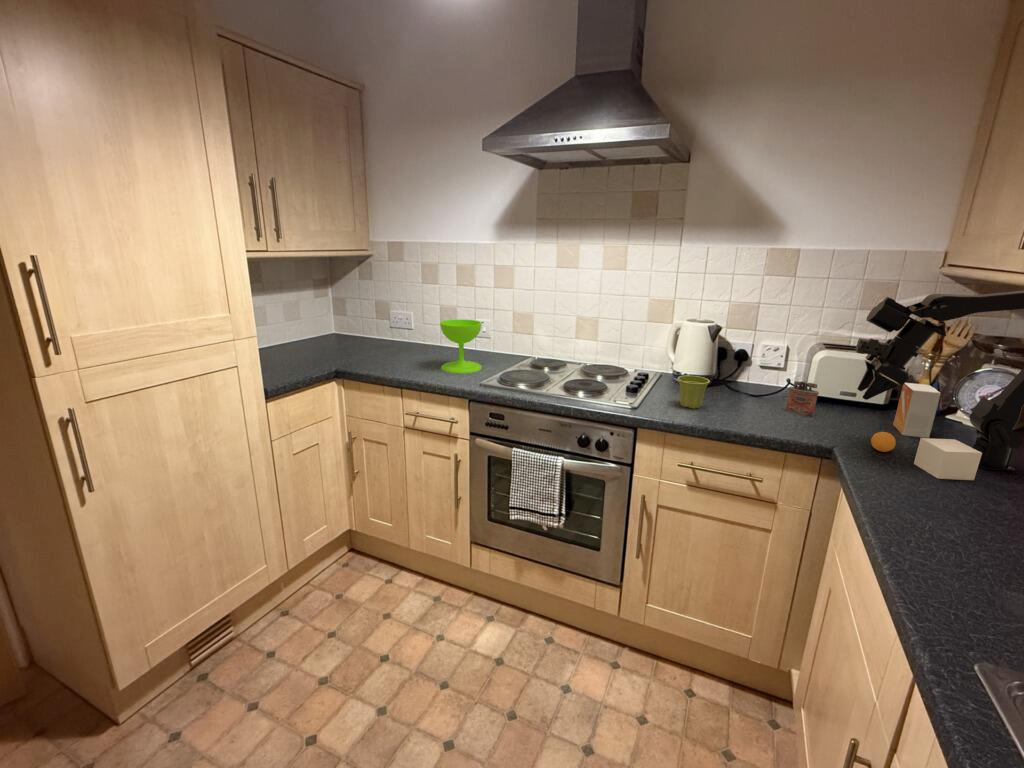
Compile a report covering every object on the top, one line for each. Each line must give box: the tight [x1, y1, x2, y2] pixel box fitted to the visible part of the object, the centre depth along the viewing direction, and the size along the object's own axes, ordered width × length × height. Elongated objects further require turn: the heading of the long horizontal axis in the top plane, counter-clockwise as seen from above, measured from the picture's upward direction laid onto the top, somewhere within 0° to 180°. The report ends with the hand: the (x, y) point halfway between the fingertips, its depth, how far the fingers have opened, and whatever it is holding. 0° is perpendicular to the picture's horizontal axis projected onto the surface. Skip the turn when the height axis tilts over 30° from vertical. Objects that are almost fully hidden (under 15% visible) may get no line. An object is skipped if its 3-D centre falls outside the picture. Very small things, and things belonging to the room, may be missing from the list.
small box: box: [892, 382, 941, 438], centre depth 139 cm, size 8×6×13 cm
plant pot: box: [677, 375, 711, 409], centre depth 158 cm, size 9×9×9 cm
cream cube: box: [913, 437, 982, 481], centre depth 115 cm, size 8×8×7 cm
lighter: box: [784, 380, 820, 417], centre depth 153 cm, size 8×3×10 cm, turn 47°
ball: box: [870, 431, 897, 453], centre depth 127 cm, size 5×5×5 cm
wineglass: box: [439, 318, 483, 374], centre depth 197 cm, size 16×16×18 cm
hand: (861, 394), depth 127 cm, fingers open, 9 cm apart
